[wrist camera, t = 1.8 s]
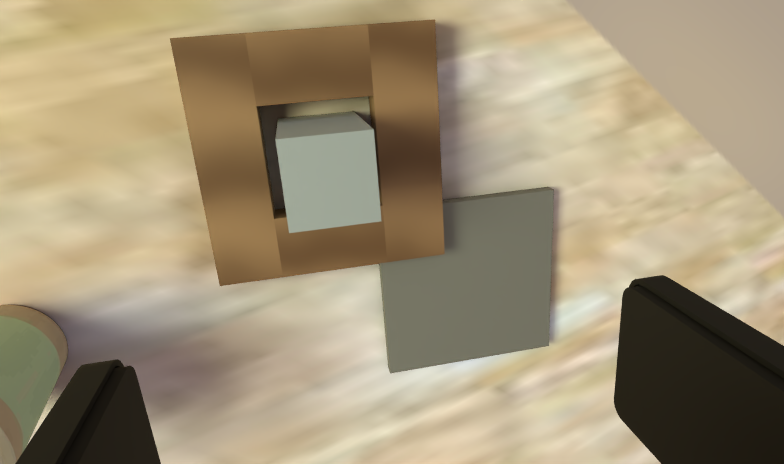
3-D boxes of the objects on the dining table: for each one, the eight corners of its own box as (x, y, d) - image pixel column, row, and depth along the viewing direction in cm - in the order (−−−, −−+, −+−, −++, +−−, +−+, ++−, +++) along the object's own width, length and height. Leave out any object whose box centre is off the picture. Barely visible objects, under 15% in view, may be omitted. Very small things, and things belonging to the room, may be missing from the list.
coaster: (374, 208, 34) (376, 212, 33) (548, 186, 36) (553, 189, 35) (388, 366, 38) (390, 373, 37) (543, 340, 40) (548, 345, 39)
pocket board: (177, 39, 29) (170, 38, 27) (426, 21, 31) (434, 19, 29) (223, 272, 34) (219, 285, 32) (436, 243, 36) (444, 254, 34)
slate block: (278, 118, 31) (275, 139, 24) (353, 111, 32) (373, 129, 24) (288, 191, 33) (289, 233, 25) (360, 183, 33) (381, 221, 26)
